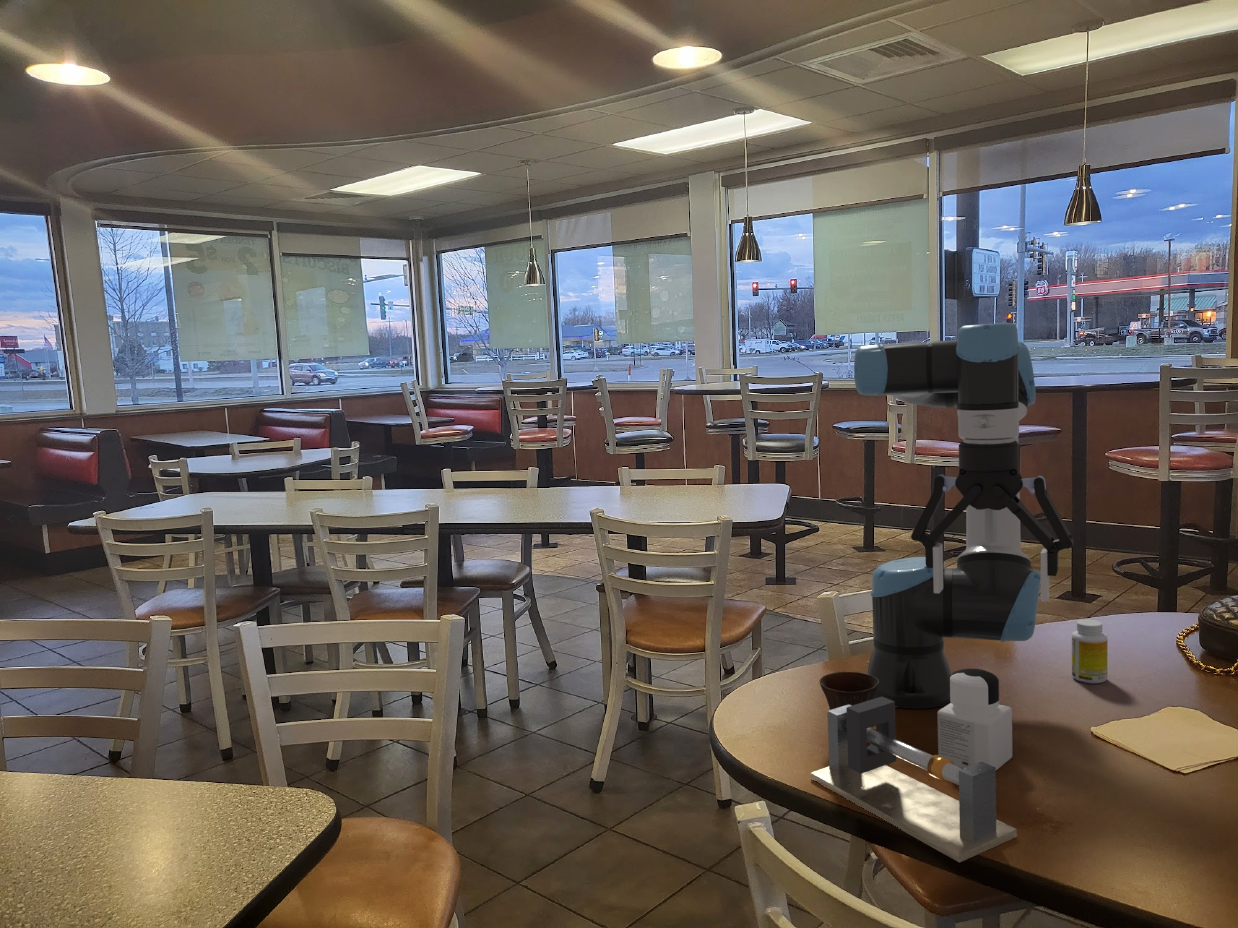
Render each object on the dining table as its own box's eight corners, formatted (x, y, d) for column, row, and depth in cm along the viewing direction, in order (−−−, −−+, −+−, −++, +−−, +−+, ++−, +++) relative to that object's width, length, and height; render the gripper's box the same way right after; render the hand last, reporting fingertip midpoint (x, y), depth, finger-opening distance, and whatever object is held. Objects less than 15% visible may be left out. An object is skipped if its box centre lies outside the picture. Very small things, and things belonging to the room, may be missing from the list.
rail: (810, 779, 129) (808, 714, 128) (863, 760, 134) (861, 698, 133) (959, 862, 107) (958, 784, 106) (1016, 836, 111) (1016, 762, 110)
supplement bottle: (1114, 682, 158) (1115, 624, 157) (1087, 686, 157) (1087, 628, 156) (1091, 671, 164) (1091, 616, 163) (1064, 675, 163) (1064, 620, 162)
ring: (848, 767, 125) (846, 707, 124) (883, 754, 128) (881, 696, 127) (860, 773, 123) (859, 712, 122) (896, 761, 126) (894, 701, 125)
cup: (813, 746, 138) (815, 680, 138) (822, 730, 147) (824, 668, 147) (874, 754, 135) (876, 686, 135) (879, 737, 144) (881, 674, 144)
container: (961, 743, 138) (960, 660, 136) (1013, 757, 132) (1012, 671, 131) (937, 761, 133) (935, 675, 131) (990, 776, 127) (989, 686, 126)
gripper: (886, 443, 125) (890, 594, 128) (1091, 443, 113) (1091, 610, 115) (900, 437, 132) (903, 581, 134) (1095, 436, 119) (1095, 595, 122)
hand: (990, 595), depth 125 cm, fingers open, 13 cm apart
